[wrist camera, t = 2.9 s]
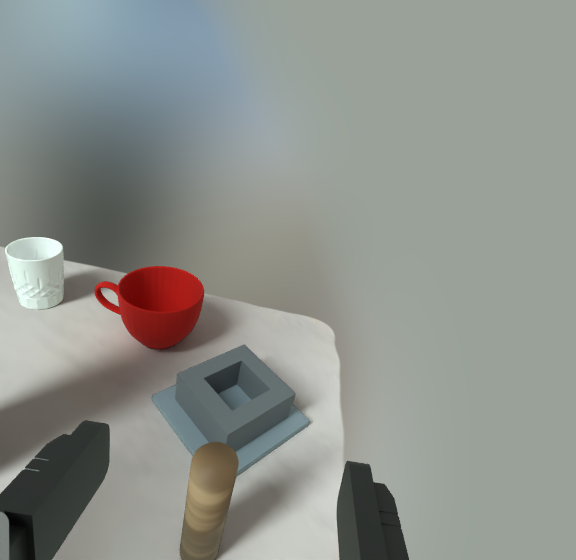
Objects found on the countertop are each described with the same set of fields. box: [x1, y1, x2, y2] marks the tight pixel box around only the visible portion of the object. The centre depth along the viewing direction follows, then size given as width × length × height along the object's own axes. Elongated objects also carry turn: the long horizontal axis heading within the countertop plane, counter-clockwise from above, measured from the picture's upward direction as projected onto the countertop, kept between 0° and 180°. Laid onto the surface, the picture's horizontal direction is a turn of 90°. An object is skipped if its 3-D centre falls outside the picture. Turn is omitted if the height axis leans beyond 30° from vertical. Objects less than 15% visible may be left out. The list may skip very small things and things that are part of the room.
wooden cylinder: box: [180, 442, 239, 560], centre depth 37 cm, size 4×4×15 cm
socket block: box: [152, 345, 309, 476], centre depth 55 cm, size 16×16×6 cm
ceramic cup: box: [95, 266, 204, 349], centre depth 64 cm, size 13×17×10 cm
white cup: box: [5, 237, 64, 310], centre depth 66 cm, size 8×8×10 cm
